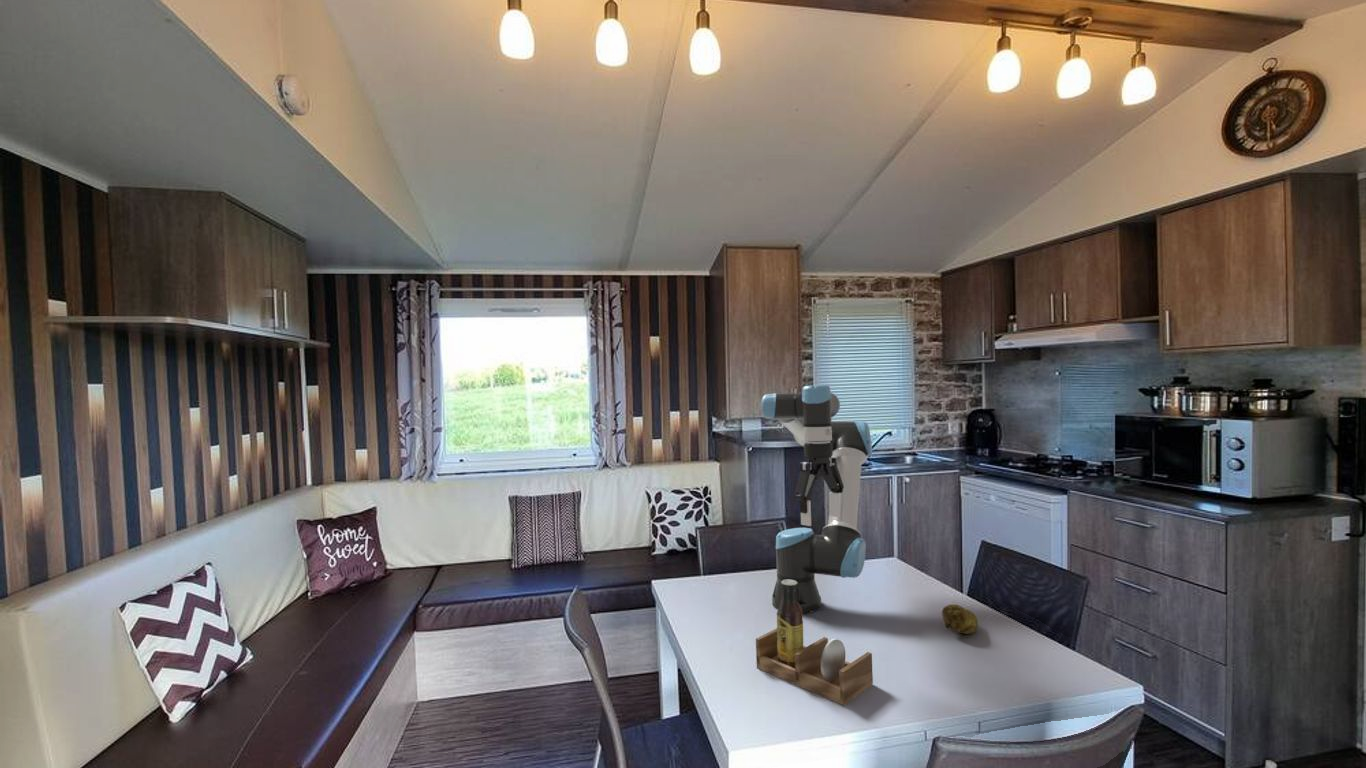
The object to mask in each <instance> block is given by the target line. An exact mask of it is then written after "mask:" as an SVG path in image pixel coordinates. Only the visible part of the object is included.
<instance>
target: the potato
mask: <svg viewBox="0 0 1366 768" xmlns="http://www.w3.org/2000/svg"><path fill="white" fill-rule="evenodd" d="M941 615H942V621H943V623H944V626H945V628H946V629H950V630H951V631H953V632H955V633H961V634H964V635H971V634H974V633H975V632H976V631H977V629H978V627H979V621H978V618H977V616H976V615H975V613H973V612H972V611H971V610H970V609H966V608H965V607H963V606H961V605H958V604H956V603H955V604H954V603H953V604H948V605H946V606H945V607H943V609H942V611H941Z"/></svg>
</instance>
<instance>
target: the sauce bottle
mask: <svg viewBox="0 0 1366 768" xmlns="http://www.w3.org/2000/svg"><path fill="white" fill-rule="evenodd" d="M781 589H782V599H781V602H780V605H779V608H778V609H777V612H776V628H777V647H778V657H779V658H778V660H779V662H780V663H783V664H785V665H788V666H790V667H792V668H795V653H797V652H799V651H800V650H802V649H803V646H804V620H803V613H802V608H801V606H800V604H799V603H798V601H797V600H798V597H797V589H798V583H797V581H795V580H790V579H786V580H783V581H781Z"/></svg>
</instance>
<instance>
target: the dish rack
mask: <svg viewBox="0 0 1366 768" xmlns="http://www.w3.org/2000/svg"><path fill="white" fill-rule="evenodd" d="M828 639H829V638H827V637H825V636H824V637H822V638H820V639H818V640H816V641H815V642H813V643H811V644H808V645H807V646H806V645H803V649H802V650H800V651H799V652H797V653H795V668H792V667H790V666H788V665H785V664H783V663H780V662H779V660H778V658H779V657H778V647H777V627H776V628H774V629H773V630H770V631H768V632H766V633H764V634H762V635H760V636H758V637H755V647H756V648H755V651H756V652H755V653H756V656H755V657H756V668H757V669H758V670H761V671H763V672H766V673H768V674H770V675H773V676H775V677H777V678H779V679H782V680H785V681H786V682H789V683H790V684H791V683H792V684H794V685H795V686H798V687H800V688H803V689H805V690H808V691H810V692H812V693H814V694H816V695H819V696H822V697H824V698H826V699H828V700H831V701H832V702H835V703H837V704H840V705H843V706H846V705H847V704H849V703H850V702H851V701H853V700H854V699H856V698H857V697H858V696H859V695H861V694H863V692H865V691H866V690H867V689H869V688H871V686H873V684H874V679H873V678H874V677H873V675H874V674H873V653H872V652H869V651H867V652H865V653H864V654H862V655H861V656H859V657H858V658H857V659H854V660H853V661H852V662H849V661H847V660H846V648H845V645H844V643H843V642H842V641H841V640H840V639H836V638H832V639H830V640H828Z"/></svg>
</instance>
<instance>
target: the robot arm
mask: <svg viewBox="0 0 1366 768" xmlns="http://www.w3.org/2000/svg"><path fill="white" fill-rule="evenodd" d="M760 408H761V414H762V416H763V418H764V419H769V420H776V419H777V420H778V421H779V422H780V423H781V424H782V425H783V426H784V427H785V428H786V429H787V430H788V431H789V432H790V433H791V434H792V435H793V438H794V440H795V441H796V443H798V444H799V445H800V446H801V447H803V451H804V452H803V453H804V454H803V455H804V456H805V457H807V461H801V462H800V463H799V465H800V467H799V469H800V470H799V472H798V473H799V474H798V477H797V482H796V486H795V490H794V494H793V498H794V499H796V501H799V512H800V525H802V526H807V527H793V528H787V529H784V530H782V531H779V532H778V534H776V537H775V556H776V559H775V561H776V582H775V585H774V589H773V593H772V596H771V601H772V602H771V603H772V606H773V607H774V608H775V609H777V610H778V608H779V605H780V602H781V599H782V589H781V581H783V580H786V579H790V580H795V581H797V583H798V589H797V597H798V600H797V601H798V603H799V604H800V606H801V608H802V614H807V613H812V612H815V611H818V610H820V609H821V608H822V597H821V594H820V591H819V588H818V585H817V583H816V580H815V578H816V577H815V575H816V574H817V575H822V576H824V575H825V576H831V577H832V576H833V577H839V578H852V579H854V578H858V577H859V576H860V575H861V573H862V572H863V570H864V566H865V561H866V555H867V554H866V551H867V544H866V541H865V539H864V538H862V534H861V532H860V531H859V530H858V529H857V528H858V527H857V526H858V525H857V524H858V512H859V511H858V510H859V502H860V501H859V500H860V499H859V498H860V489H861V488H860V487H861V486H860V485H861V475H862V465H864V464H865V463H866V462H867V460H868V459H867V458H868V457H870V456H872V455H873V445H872V438H871V431H870V427H869V424H868V423H867V422H865V421H857V420H854V421H832V418H833V417H835V416H836V415H838V413H839V410H840V408H841V402H840V399H839V397H838V396H837V395H836V394H834V393H832V392H831V387H830V386H829V385H826V384H825V385H824V384H821V385H805V386H803V388H802V392H794V393H793V392H791V393H790V392H789V393H782V392H781V393H767V394H765V395H763V397H762V398H761V404H760ZM821 477H822V479H823V480H824V482H825V483H826V485H827V487H828V489H829V490H830V491H829V492H828V504H829V505H828V507H829V512H828V513H829V514H828V523H827V525H825V526H823V528H822V531H821V534H815V532H814V531H813V529H812V528H811V527H812V511H811V510H812V508H811V500H809V498H810V496H811V493H812V491H813V489H814V487H815V483H816V482H817V480H818V479H820V478H821ZM808 527H809V528H808Z"/></svg>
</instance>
